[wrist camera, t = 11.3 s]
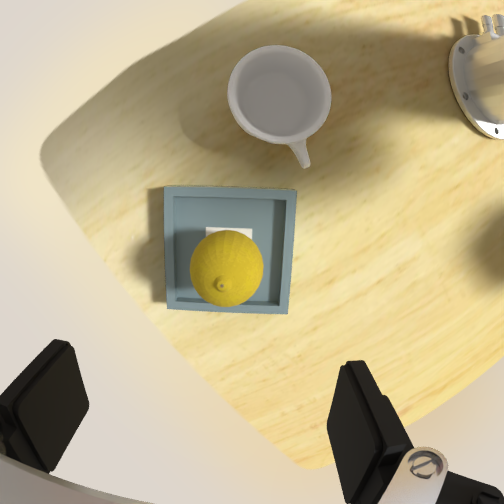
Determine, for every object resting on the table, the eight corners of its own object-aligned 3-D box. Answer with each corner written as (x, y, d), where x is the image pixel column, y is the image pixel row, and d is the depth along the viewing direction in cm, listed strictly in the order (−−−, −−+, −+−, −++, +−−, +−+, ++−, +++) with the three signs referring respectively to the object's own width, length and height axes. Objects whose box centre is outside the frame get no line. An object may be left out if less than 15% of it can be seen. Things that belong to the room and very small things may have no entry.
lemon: (233, 209, 27) (226, 225, 19) (274, 257, 28) (283, 291, 21) (185, 249, 28) (162, 280, 20) (226, 294, 29) (218, 339, 21)
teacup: (218, 83, 26) (211, 65, 20) (297, 55, 25) (307, 33, 20) (260, 183, 28) (262, 186, 23) (339, 153, 27) (358, 151, 22)
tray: (170, 185, 28) (164, 186, 26) (293, 189, 28) (296, 190, 26) (172, 299, 31) (167, 308, 29) (285, 304, 31) (287, 314, 29)
